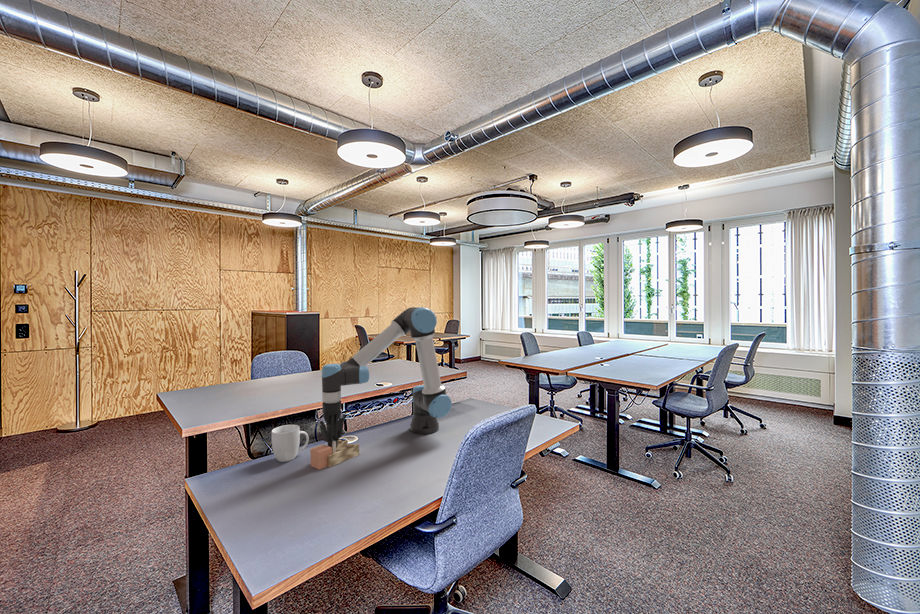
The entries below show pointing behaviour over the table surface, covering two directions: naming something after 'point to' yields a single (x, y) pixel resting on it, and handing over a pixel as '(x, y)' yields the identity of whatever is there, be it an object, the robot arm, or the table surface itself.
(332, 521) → the table surface
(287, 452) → the mug
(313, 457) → the block
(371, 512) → the table surface
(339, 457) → the tan boxy piece
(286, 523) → the table surface
